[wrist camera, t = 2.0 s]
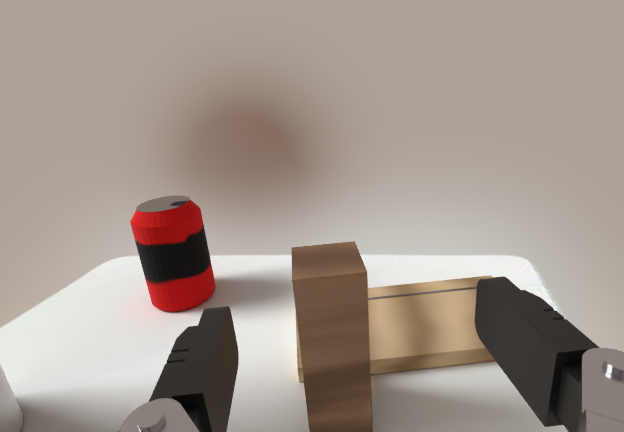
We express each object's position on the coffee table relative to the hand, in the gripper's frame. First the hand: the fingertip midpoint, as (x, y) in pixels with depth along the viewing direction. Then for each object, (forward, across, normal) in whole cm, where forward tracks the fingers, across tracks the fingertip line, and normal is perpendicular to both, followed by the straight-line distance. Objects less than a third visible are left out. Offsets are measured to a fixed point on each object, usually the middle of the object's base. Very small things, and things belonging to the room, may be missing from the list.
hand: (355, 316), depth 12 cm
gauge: (+17, 0, +16) cm, 24 cm away
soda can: (+31, +17, +16) cm, 39 cm away
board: (+20, -8, +16) cm, 27 cm away
